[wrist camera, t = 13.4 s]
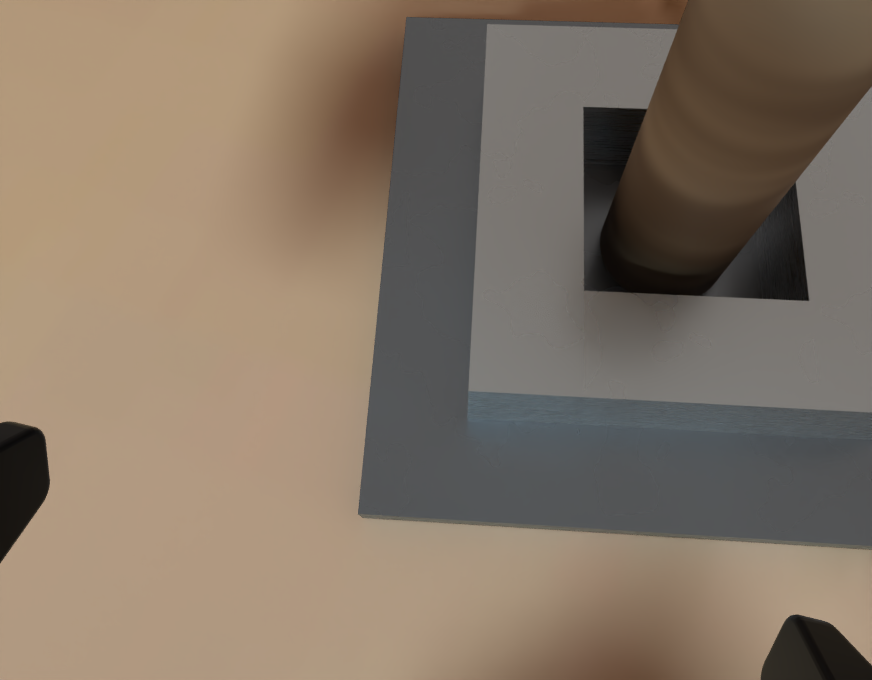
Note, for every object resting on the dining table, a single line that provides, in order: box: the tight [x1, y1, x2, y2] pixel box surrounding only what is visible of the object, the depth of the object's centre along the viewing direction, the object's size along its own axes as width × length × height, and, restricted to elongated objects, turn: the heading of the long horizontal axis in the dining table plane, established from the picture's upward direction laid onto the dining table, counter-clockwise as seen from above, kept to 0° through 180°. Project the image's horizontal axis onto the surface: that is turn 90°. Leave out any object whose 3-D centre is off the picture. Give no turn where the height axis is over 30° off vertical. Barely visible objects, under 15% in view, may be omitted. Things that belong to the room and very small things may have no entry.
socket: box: [358, 17, 872, 550], centre depth 23 cm, size 18×18×4 cm
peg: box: [600, 0, 872, 296], centre depth 18 cm, size 4×4×12 cm
